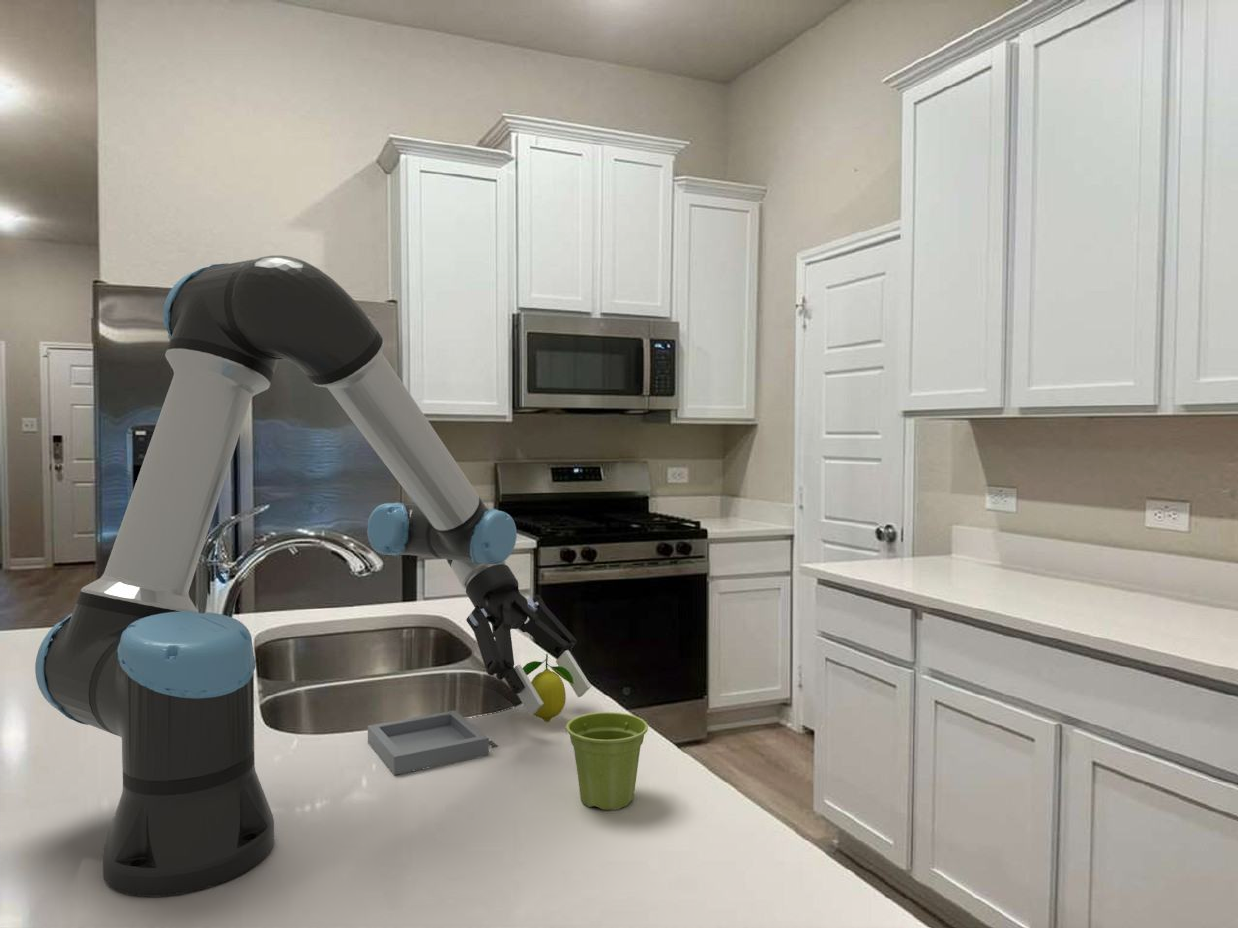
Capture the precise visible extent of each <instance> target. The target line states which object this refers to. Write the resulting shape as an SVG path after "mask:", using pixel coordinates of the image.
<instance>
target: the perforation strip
mask: <svg viewBox="0 0 1238 928" xmlns="http://www.w3.org/2000/svg"><path fill="white" fill-rule="evenodd" d="M482 733H483V734H485V733H484V732H482ZM489 744H490V745H491V746H492V747H491V746H490V745H489V746H490V747H491V748H497V747H498V743H497V744H496V742H494V741H493V740H489Z"/></svg>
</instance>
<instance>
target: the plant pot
mask: <svg viewBox="0 0 1238 928" xmlns="http://www.w3.org/2000/svg"><path fill="white" fill-rule="evenodd" d="M648 729H649V725H648V722H647V721H645V719H642V717H638V716H637V715H633V714H629V713H622V712H615V711H613V712H610V711H609V712H608V711H606V712H605V711H604V712H603V711H602V712H601V711H600V712H592V713H585V714H582V715H581V714H580V715H579V716H576V717H574V718H572V719H570V720H569V721H568V722H567V723H566V725H565V730H566V732H567V734H568V735H569V737H570V743H571V745H572V747H573V752H574V757H575V758H574V760H575V765H576V774H577V779H578V788H579V795H580V801H581V803H583V804H584V805H585V806H587V807H589V808H590V807H591V808H592V807H598V808H599V809H600V810H605V811H611V810H617V809H621V808H625V807H626V806H629V804H630V803H631V801H633V800H634V796H635V790H636V784H637V783H636V782H637V775H638V768H639V761H640V752H641V747H642V744H643V743H644V737H645V735H646V733H647V732H648Z"/></svg>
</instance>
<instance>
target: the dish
mask: <svg viewBox="0 0 1238 928" xmlns="http://www.w3.org/2000/svg"><path fill="white" fill-rule="evenodd" d="M483 733H484V732H483V731H481V730H480V729H479V728H477V726H475V725H474V724H472V722H470V721H469V720H468V719H467V718H465V716H463V715H462V714H461V713H459V712H458V711H457V710H455V709H454V710H448V711H443V712H438V713H433V714H432V713H431V714H426V715H421V716H420V715H419V716H415V717H409V718H403V719H398V720H392V721H388V722H386V721H385V722H382V723H376V724H370V725H369V724H368V725H367V744H368V745H369V744H370V745H371V746H372V747H371V746H370V745H369V746H370V747H371V749H372V750H373V749H374V750H375V751H376V752H375V751H374V750H373V751H374V752H375V754H376V755H377V754H378V755H379V756H380V757H379V756H378V755H377V756H378V757H379V759H380V760H381V759H382V760H381V761H382V763H384V765H385V764H386V765H387V766H386V765H385V766H386V767H387V768H388V767H389V768H390V769H389V768H388V769H389V771H390V770H391V771H392V772H391V771H390V772H391V773H392V775H394V776H397V775H396V774H399V775H402V774H401V773H403V774H406V773H405V772H408V773H412V772H411V771H413V770H417V771H420V770H419V769H422V770H424V769H423V768H427V767H432V768H436V767H439V766H440V765H441V766H444V764H446V765H449V763H450V764H455V763H460V762H463V761H469V760H473V759H477V758H482V757H487V755H488V756H489V755H490V751H489V750H490V745H489V741H490V738H489V737H488V736H487V735H486V734H485V733H484V734H483ZM454 762H455V763H454ZM427 769H428V768H427ZM413 772H414V771H413Z"/></svg>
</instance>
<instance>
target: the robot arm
mask: <svg viewBox="0 0 1238 928" xmlns="http://www.w3.org/2000/svg"><path fill="white" fill-rule="evenodd" d="M162 312H163V314H162V317H163V318H162V319H163V326H164V329H166V331H167V333H168V335H167V336H168V337H167V338H168V339H169V343H168V345H167V349H166V350H165V355H164V357H165V358H166V361H167V362H168V364H169V366H170V368H171V369H172V370H173V376H172V380H171V382H170V386H169V387H168V391H167V393H166V396H165V398H164V402H163V405H162V407H161V410H160V414H159V416H158V419H157V421H156V423H155V424H156V425H155V428H154V431H153V434H152V436H151V439H150V441H149V444H148V447H147V449H146V454H145V455H144V459H143V461H142V464H141V467H140V469H139V470H140V471H139V473H138V475H137V477H136V478H137V480H136V481H135V484H134V487H133V490H132V493H131V495H130V498H129V501H128V504H127V507H126V510H125V513H124V515H123V519H122V521H121V524H120V527H119V530H118V533H117V536H116V538H115V541H114V544H113V547H112V549H111V552H110V555H109V557H108V561H107V564H106V567H105V569H104V572H103V574H102V575H101V576H100V578H98V579H96V580H94V581H92V582H91V583H89V584H87V585H85V586H83V587H82V588H81V590H80V592H79V594H78V597H77V599H76V603H75V606H74V608H73V611H72V613H70V614H69V615H67V616H66V617H65V618H63V619H62V620H61V621H59V622H57V623H55V624H54V626H52V628H51V629H50V630H49V631H48V633H47V634H46V635H45V637H44V638H43V640H42V642H41V643H40V645H39V648H38V651H37V653H36V659H35V665H34V670H35V671H34V672H35V679H36V684H37V687H38V689H39V691H40V693H41V695H42V696H43V698H44V700H46V701H47V703H49V704H50V706H52V707H53V708H54V709H56V710H57V711H59V713H61V714H62V715H63V716H65V717H66V718H68V719H69V720H73V722H76V723H79V724H82V725H89V726H92V727H94V728H97V729H99V730H102V731H105V732H107V733H110V734H112V735H115V736H117V737H120V738H121V757H122V758H121V763H122V766H121V767H122V768H121V769H122V793H121V795H120V799H119V802H118V804H117V807H116V811H115V814H114V815H113V816H114V817H113V819H112V823H111V825H110V829H109V830H108V831H109V832H108V834H107V837H106V841H105V844H104V847H103V851H102V878H103V881H104V882H105V883H106V885H107V886H108V887H109V888H111V889H113V890H114V891H117V892H119V893H122V894H126V895H131V896H138V897H139V896H140V897H141V896H142V897H162V896H163V897H164V896H165V897H166V896H173V895H178V894H179V895H181V894H185V893H190V892H195V891H199V890H203V889H206V888H210V887H213V886H216V885H219V884H222V883H225V882H227V881H229V880H232V879H233V878H236V877H238V876H240V875H242V874H244V873H246V872H247V871H249V870H251V869H253V868H254V867H256V866H257V865H258V864H260V863H261V861H263V860H264V859H265V858H267V856H268V855H269V853H270V852H271V851H272V849H273V847H274V843H275V822H274V819H275V818H274V814H273V812H272V809H271V806H270V805H269V802H268V800H267V797H266V794H265V792H264V789H263V787H262V784H261V782H260V779H259V776H258V773H257V772H256V766H255V685H254V684H255V683H254V681H255V680H254V678H255V674H254V673H255V671H256V658H255V653H254V646H253V639H252V634H251V632H250V631H249V629H248V627H247V626H246V625H245V624H244V623H243V622H241V621H240V620H238V619H236V618H234V617H232V616H228V615H225V614H222V613H221V614H220V613H217V612H209V611H208V612H203V613H200V612H199V611H198V610H197V608H196V606H195V604H194V602H193V600H192V599H191V598H190V593H189V591H190V588H191V585H192V582H193V579H194V576H195V573H196V570H197V567H198V564H199V561H200V557H201V555H202V551H203V549H204V545H205V542H206V539H207V536H208V534H209V533H208V532H209V530H210V527H211V524H212V520H213V517H214V514H215V511H216V509H217V505H218V503H219V498H220V496H221V493H222V490H223V487H224V483H225V480H226V478H227V474H228V472H229V467H230V465H231V463H232V462H231V461H232V459H233V456H234V453H235V450H236V446H237V444H238V440H239V437H240V435H241V431H242V428H243V426H244V421H245V419H246V415H247V414H248V411H249V408H250V407H249V406H250V404H251V400H252V398H253V397H254V396H256V395H258V394H260V393H263V392H264V391H267V390H268V389H270V386H271V383H272V380H273V377H274V374H275V371H276V368H277V364H278V362H279V360H286V361H288V362H290V363H292V364H293V365H295V366H296V367H297V368H299V369H300V370H301V371H302V372H303V373H304V374H305V375H306V376H307V378H308V379H309V380H310V382H311V383H312V385H314V386H316V387H319V388H327V390H328V391H329V392H330V393H331V395H332V396H333V397H334V398H335V400H336V401H337V403H338V404H339V405H340V407H341V408H342V409H343V410H344V412H345V413H346V414H347V416H348V417H349V419H350V420H351V421H352V422H353V424H354V425H355V426H356V428H357V429H358V430H359V432H360V433H361V434H362V435H363V437H364V438H365V440H366V441H367V442H368V443H369V445H370V446H371V448H372V449H373V450H374V452H375V453H376V454H377V455H378V457H379V459H381V461H382V462H383V463H384V465H385V466H386V467H387V469H388V470H389V471H390V473H391V474H392V475H393V477H394V478H395V479H396V481H397V482H398V484H400V486H401V487H402V489H403V490H404V492H405V493H406V494H407V495H408V496H409V498H410V499H411V500H412V502H413V503H405V502H404V503H402V502H397V501H395V502H394V503H392V502H391V503H383V504H380V505H378V506H377V507H375V508H374V510H373V511H371V514H370V515H369V517H368V520H367V531H366V534H367V539H368V542H369V544H370V546H371V548H372V549H373V550H374V551H375V552H377V553H378V554H380V555H384V556H385V555H387V556H390V555H391V556H395V557H399V556H400V555H401V556H414V557H415V556H417V557H424V558H432V559H444V560H446V562H447V563H448V565H449V566H450V568H451V570H452V572H453V573H454V575H455V576H456V578H457V579H458V582H459V583H460V585H461V587H462V588H463V589H465V594H466V596H467V597H468V598H469V600H470V603H472V605H473V607H474V609H473V610H472V611H471V613H470V614H468V615H467V618H466V622H467V624H468V625H469V626H470V628H471V630H472V631H473V635H474V636H475V640H476V644H477V646H478V648H479V652H480V655H481V658H482V661H483V665H484V668H485V670H486V672H487V674H488V675H489V676H492V677H493V676H494V675H495V677H496V679H498V680H503V679H504V680H505V681H506V683H507V685H508V687H509V688H510V690H511V691H512V693H513V694H514V695H517V697H518V698H519V700H520V701H521V703H522V705H523V707H524V708H525V709H526V712H527V714H528V715H529V716H535V715H534V714H535V713H536V712H537V710H538V709H539V708H540V707H541V706H542V705H543V704H544V703H543V702H542V700H541V698H540V697H539V695H538V693H537V692H536V690H535V688H534V687H533V685H532V683H531V680H530V679H529V676H528V675H526V673H525V672H524V670H523V667H522V665H521V664H518V665H516V666H515V657H514V651H513V650H514V649H513V641H512V635H511V634H512V632H511V630H519V631H520V632H522V633H527V634H528V635H530V637H532V638H534V639H535V640H536V641H537V642H538V643H540V644H541V645H542V646H544V647H545V648H546V649H547V650H548V651H549V652H551V653H552V654H553V655H555V656H556V657H557V659H556V660H555V663H556V665H557V666H560V667H563V668H565V669H566V670H568V671H569V673H570V674H571V676H572V678H573V683H574V684H572V683H570V682H568V684H569V686H570V687H571V688H572V690H573V691H574V693H575V695H576V696H577V698H582V697H583V696H584V695H585V694H586V693H587V692H588V691H589V690H590V689H591V688H592V685H591V682H589V680H588V679H587V677H586V675H585V673H584V672H583V671H582V667H581V664H580V662H579V660H578V659H577V658H576V656H575V655H574V653H573V651H572V648H574V647H575V646H576V644H577V643H578V640H577V639H576V638H575V636H574V635H573V634H572V633H571V632H570V631H569V630H568V629H567V628H566V626H564V625H563V623H562V622H561V621H560V620H559V619H558V618H557V617H556V615H555V614H554V613H553V612H552V611H551V610H550V609H549V608H548V606H546V604H545V602H544V600H543V598H542V596H541V595H540V594H535V595H534V596H533V597H532V598H526V597H525V596H524V595H523V594H522V593H521V592H520V590H519V581H518V579H517V578H516V576H515V574H514V572H513V571H512V570H511V568H510V567H509V565H507V564H506V562H507V561H506V560H507V559H508V558H510V556H511V554H512V552H513V550H514V549H515V546H516V542H517V538H518V537H517V535H518V533H517V526H516V523H515V520H514V518H513V517H512V516H511V515H510V514H508V513H507V512H506V511H504V510H503V511H502V510H498V509H497V508H491V509H489V508H488V507H487V506H486V504H485V503H484V501H483V500H482V499H481V497H480V496H479V494H478V493H477V491H476V490H475V487H474V486H473V485H472V483H471V482H470V481H469V479H468V478H467V476H466V474H464V472H463V471H462V468H461V467H460V466H459V465H458V463H457V461H456V460H455V459H454V457H453V456H452V454H451V453H450V452H449V450H448V448H447V446H446V445H445V444H444V442H443V441H442V439H441V438H440V437H439V435H438V434H437V432H436V431H435V429H434V428H433V425H432V424H431V423H430V421H429V420H428V419H427V417H426V416H425V414H424V413H423V411H422V410H421V408H420V407H419V405H418V404H417V403H416V401H415V399H414V398H413V397H412V395H411V393H410V392H409V391H408V389H407V388H406V386H405V384H404V383H403V381H402V379H400V377H399V376H398V375H397V372H396V371H395V369H394V368H393V367H392V365H391V363H389V361H388V359H387V358H386V356H385V355H384V353H383V349H384V347H385V346H384V345H385V341H384V339H383V337H382V335H381V334H380V332H379V331H378V329H377V328H376V326H375V325H374V323H372V321H371V320H370V318H369V317H368V316H367V314H366V312H365V311H364V310H363V309H362V307H361V306H360V305H359V304H358V303H357V302H356V300H355V299H353V297H352V296H351V295H350V294H349V293H348V292H347V291H346V290H345V289H344V288H343V287H342V286H341V285H339V283H337V282H336V281H335V280H334V278H332V277H331V276H329V275H328V274H327V273H325V272H324V271H323V270H320V269H319V268H318V267H315V265H312V264H310V263H308V262H306V261H304V260H302V259H299V258H297V257H292V256H286V255H267V256H262V257H258V258H254V259H248V260H244V261H237V262H232V263H229V262H227V263H224V262H223V263H214V264H209V265H206V266H203V267H201V268H199V269H197V270H194V271H192V272H190V273H188V274H186V275H184V276H183V277H182V278H180V279H179V280H178V281H176V283H175V284H174V285H173V286H172V288H170V291H169V293H168V294H167V296H166V299H165V302H164V306H163V311H162ZM528 618H529V620H528Z"/></svg>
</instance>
